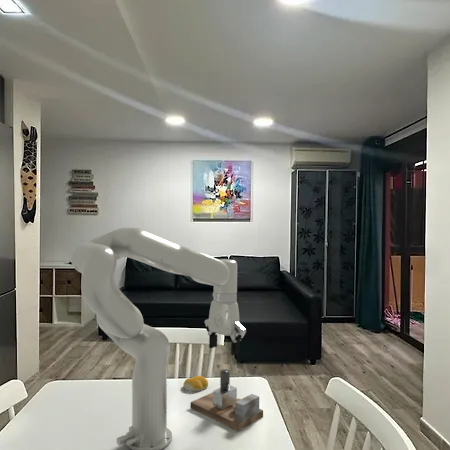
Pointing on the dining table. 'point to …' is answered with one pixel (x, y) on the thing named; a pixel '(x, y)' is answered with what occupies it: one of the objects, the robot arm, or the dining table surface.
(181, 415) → the dining table surface
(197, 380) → the bread roll
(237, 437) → the dining table surface
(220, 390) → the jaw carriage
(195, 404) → the base
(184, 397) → the dining table surface
